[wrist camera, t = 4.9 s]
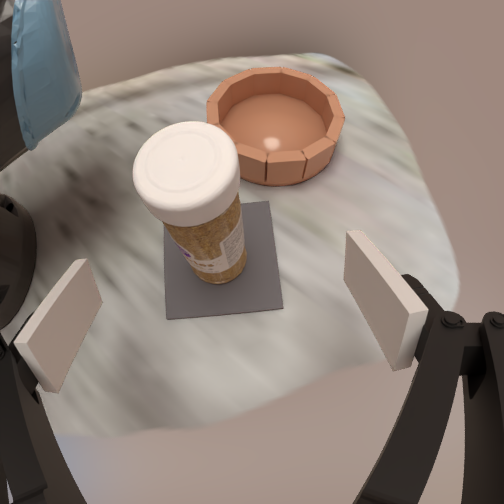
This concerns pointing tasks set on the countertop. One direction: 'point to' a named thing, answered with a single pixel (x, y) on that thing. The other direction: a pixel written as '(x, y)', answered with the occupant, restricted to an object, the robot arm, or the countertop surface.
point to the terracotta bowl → (277, 123)
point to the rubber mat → (235, 291)
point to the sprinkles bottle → (195, 195)
